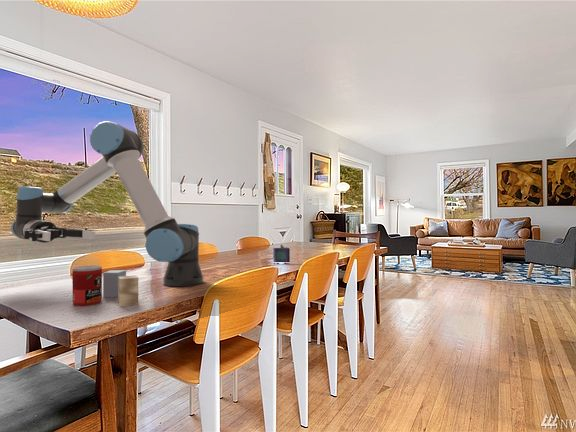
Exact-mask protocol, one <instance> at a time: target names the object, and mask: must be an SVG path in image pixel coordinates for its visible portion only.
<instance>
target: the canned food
mask: <svg viewBox="0 0 576 432" xmlns="http://www.w3.org/2000/svg"><path fill="white" fill-rule="evenodd" d="M71 282H72V304H73V306H77V307H86V306H87V307H88V306H94V305H98V304H100V303H101V302H102V299H103V267H102V265H94V264H93V265H91V264H90V265H80V266H74V267H73V268H72V281H71Z"/></svg>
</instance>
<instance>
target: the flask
mask: <svg viewBox="0 0 576 432" xmlns="http://www.w3.org/2000/svg"><path fill="white" fill-rule="evenodd" d="M272 251H273V253H272V255H273V256H272V257H273V258H272V263H273V262H290V261H291V257H290V256H291V255H290V251H291V249H290V247H288V246H284V245H283V244H280V245H279V247H272ZM290 263H291V262H290Z"/></svg>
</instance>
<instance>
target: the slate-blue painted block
mask: <svg viewBox="0 0 576 432" xmlns="http://www.w3.org/2000/svg"><path fill="white" fill-rule="evenodd" d="M121 276H127V270H125V269H124V270H123V269H121V270H119V269H117V270H116V269H115V270H114V269H112V270H111V269H110V270H108V271H105V272H102V298H118V277H121Z"/></svg>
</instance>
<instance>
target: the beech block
mask: <svg viewBox="0 0 576 432" xmlns="http://www.w3.org/2000/svg"><path fill="white" fill-rule="evenodd" d="M117 299H118V300H117V302H118V305H119V307H127V306H133V305H134V306H135V305H139V276H137V275H136V274H135V275H134V274H133V275H126V276H121V277H118V297H117Z"/></svg>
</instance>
